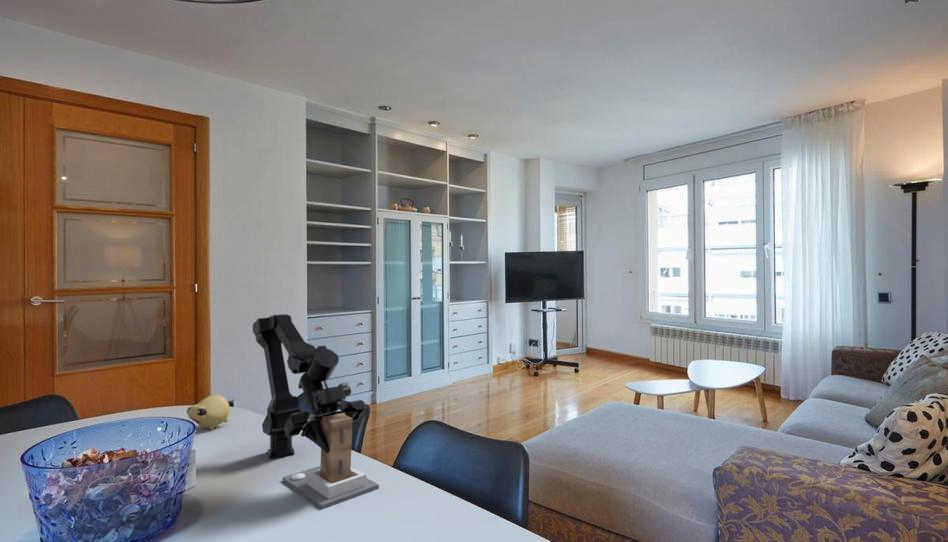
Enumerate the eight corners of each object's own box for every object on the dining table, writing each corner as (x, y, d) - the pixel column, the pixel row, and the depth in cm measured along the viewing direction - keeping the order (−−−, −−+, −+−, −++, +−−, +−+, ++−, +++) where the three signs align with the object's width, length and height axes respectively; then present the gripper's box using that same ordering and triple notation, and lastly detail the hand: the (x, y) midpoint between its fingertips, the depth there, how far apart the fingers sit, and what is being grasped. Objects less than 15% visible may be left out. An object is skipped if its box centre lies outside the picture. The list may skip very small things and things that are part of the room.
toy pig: (181, 431, 149) (181, 398, 149) (217, 421, 159) (217, 390, 160) (200, 436, 144) (200, 401, 145) (235, 425, 155) (235, 393, 155)
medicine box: (196, 485, 109) (196, 448, 109) (179, 494, 104) (180, 455, 105) (170, 482, 111) (170, 445, 111) (152, 490, 106) (153, 452, 107)
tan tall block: (319, 477, 107) (322, 417, 108) (339, 472, 111) (342, 413, 111) (331, 486, 103) (334, 423, 103) (351, 480, 107) (354, 419, 107)
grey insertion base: (282, 480, 111) (282, 466, 111) (336, 464, 121) (336, 451, 121) (321, 509, 97) (322, 493, 97) (378, 488, 107) (378, 473, 107)
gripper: (289, 378, 104) (311, 439, 96) (362, 367, 117) (387, 420, 109) (275, 406, 109) (295, 467, 101) (346, 393, 123) (369, 446, 114)
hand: (339, 449), depth 106 cm, fingers closed on tan tall block, 5 cm apart
